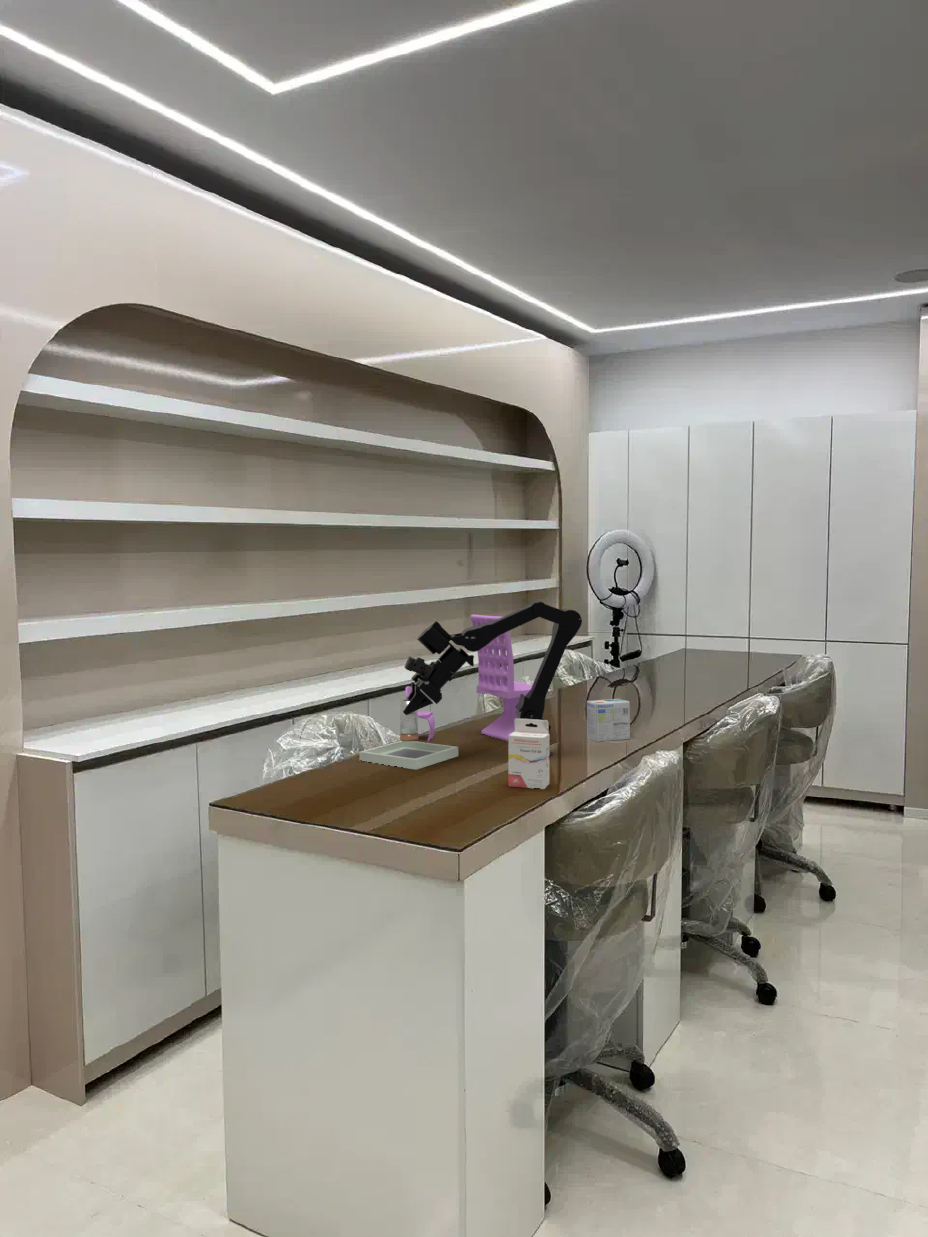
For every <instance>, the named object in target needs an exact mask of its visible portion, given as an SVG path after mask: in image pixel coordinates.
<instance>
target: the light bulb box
mask: <svg viewBox="0 0 928 1237" xmlns="http://www.w3.org/2000/svg"><path fill="white" fill-rule="evenodd" d="M630 703H631V702H630V701H629V700H626V699H621V698H611V699H598V700H586V732H587V735H586V736H587V737H586V738H587V739H589V740H591V741H594V742H596V743H599V742H609V741H620V740H621V741H622V740H630V739H631V728H630V727H631V716H630V715H631V710H630V709H631V706H630V705H631V704H630Z"/></svg>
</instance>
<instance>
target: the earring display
mask: <svg viewBox="0 0 928 1237" xmlns="http://www.w3.org/2000/svg"><path fill="white" fill-rule="evenodd" d="M501 617H502V616H500V615H499V616H498V615H497V616H496V615H495V616H494V615H482V614H474V613H473V614H471V615H470V620H471V624H472V627H473V626H477V625H481V624H486V623H490V622H493V621H495V620H497V619H499V618H501ZM476 652H477V659H478V685H476V693H477V694H480V695H491V696H495V697H499V698H502V699H503V714H502V715H500V716H499V717H497V718H496V719H495V720H494V721H492V722H491V723H490V724H488V725H487V726H486V727H485V728H483V729H481V730H480V733H481V734H485V735H488V736H487V737H489V736H491V737H490V738H493V737H494V739H497V738H498V740H500V739H501V740H500V741H504V740H505V742H508V743H509V735H510V734H511V733H513V732H515V726H514V720H515V719H516V718H517V717H516V710H517V709H516V708H515V706H516V705H517V704H518V702H519V698H520V695H521V693H522V694H523V695H525V696H526V695H527V693H528V692H529V691H530V690H531V688H532V685H533V684H529V683H526V682H521V681H515V667H514V666H515V664H514V663H515V662H514V655H513V646H512V639H511V634H510V631H508V632H506V633H503V634H501V635H499V636H498V637H496V638H495V639H494V640H492V641H491V642H490V643H489V644H487V645H486V646H485V647H483V648H482V649H480V650H479V651H476ZM549 693H550V692H549V691H548V692H547V694H546V695H548V694H549ZM485 735H484V736H485Z"/></svg>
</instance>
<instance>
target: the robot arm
mask: <svg viewBox="0 0 928 1237" xmlns="http://www.w3.org/2000/svg"><path fill="white" fill-rule="evenodd" d="M500 617H501V618H499V619H497V620H495V621H493V622H490V623H486V624H481V625H477V626H473V625H472V626H470V627H467V628H465V629H464V630H462V632H460V633H452V634H449V632H448V631H446V630H445V629H444V627H443V626H442V625H441V624H440V623H439V622H438V621H437V620H435V621H434V622H433V623H432V624H430V626H428V627H427V628H425V629H423V631H422V632H421V633H420V635H419V636H417V639H416V640H417V641H418V642H419V643H420V644H422V645H423V647H424V648H426V649H427V650H428V651H429V652H430V653H431V654H432V655H435V654H438V655H440V654H441V655H440V656H439V657H438V659H437V660H435V661H431V662H430V663H429V664H428V663H426V662H425V659H424V658H421V657H416V658H415V657H412V656H408V658H407V660H406V663H405V665H404V668H405V670H406V671H409V672H413V673H415V674H413V675H412V677H411V680H412V681H411V682H410V684H411V687H412V691H411V693H410V694H409V696H408V698H407V699H411V701H410V702H409V703H408V705H407V706H406V708H405V709H404V711H403V713H404V714H405V715H407V714H409V713H412V712H414V711H416V710H417V711H419V710H420V709H423V708H425V707H427V706H430V705H433V704H436V705H438V704H439V703H440V702H441V700H443V693H442V690H441V689H442V688H443V687H444V686H445V685H446V684H447V683H448V682H451V681H452V680H453V676H455V674H456V673H457V672H458V671H460V669H461V668H462V667H463V666H464V665H465V664H466V663H467V664H468V666H470V667H474V665H475V663H474V658H475V656H474V655H473V654H471V655H470V654H468V653H467V652H466V651H465V650H464V649H466V650H467V651H469V652H472V653H474V652H477V651H479V650H480V649H482V648H483V647H485V646H486V645H487V644H489V643H490V642H491V641H492V640H494V639H495V638H496V637H497V638H498V636H499V635H501V634H503V633H506V632H508V631H509V632H510V631H511V630H514V629H516V628H518V627H519V626H522V625H524V624H527V623H529V622H531V621H534V620H536V619H538V618H540V619H543V620H546V621H548V622H550V623H551V622H552V623H553V624H552V629H551V638H550V642H549V645H548V647H547V650H546V651H545V654H544V656H543V659H542V661H541V664H540V666H539V668H538V671H537V673H536V676H535V679H534V680H533V683H532V684H531V685H532V688H531V690H530V691H529V692H528V693H527V695H526V696H525V695H523V694H522V693H521V695H520V698H519V702H518V704H517V705H516V706H515V708H516V709H517V710H516V717H517V718H518V719H536V720H544V719H543V716H544V713H545V707H546V697H547V695H548V694H547V692H549V689H550V687H551V685H552V682H553V679H554V677H555V675H556V672H557V671H558V667H559V665H560V662H561V660H562V658H563V655H564V653H565V651H566V648H567V646H568V645H569V644H570V642H572V640H573V639H574V638H575V636H576V635H577V633H578V631H579V630H580V628H581V627H582V624H583V619H582V616H581V614H579V612H578V611H576V610H574V609H570V608H569V609H568V608H562V609H559V608H556V607H553V606H551V605H548V604H546V603H544V602H542V601H540V600H534V601H532V602H530V604H527V605H526V606H523V607H521V608H518V609H517V610H515V611H512V612H510V613H508V614H506V615H504V616H500ZM450 641H451V642H453V644H455V645H456V646H459V647H460V646H461V647H460V648H456V647H455V646H454V645H453V644H452V643H451V642H450ZM447 647H448V648H447ZM462 647H463V648H464V649H463V648H462ZM525 726H526V727H537V725H536V724H533V723H530V724H526V725H525ZM551 728H552V726H551V725H550V724H549V734H550V735H551ZM549 743H550V744H549V749H550V750H549V753H550V754H549V757H550V756H552V755H554V752H552V751H551V739H550V740H549Z"/></svg>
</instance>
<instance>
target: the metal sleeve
mask: <svg viewBox="0 0 928 1237" xmlns="http://www.w3.org/2000/svg"><path fill="white" fill-rule="evenodd" d="M410 701H411V699H406V698H405V699H400V700H399V725H400V727H399V728H400V729H399V730H400V731H399V732H400V733H399V741H400V740H401V741H416V742H418V741H419V731H418V730H419V729H418V728H419V727H418V726H419V725H418V724H419V723H418V721H419V720H418V719H419V718H418V715H417V711H418V710H416V711H414V712H412V713H409V714H407V715H405V714H404V713H403V711H404V709H405V708H406V706H407V705H408V703H409V702H410Z"/></svg>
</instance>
